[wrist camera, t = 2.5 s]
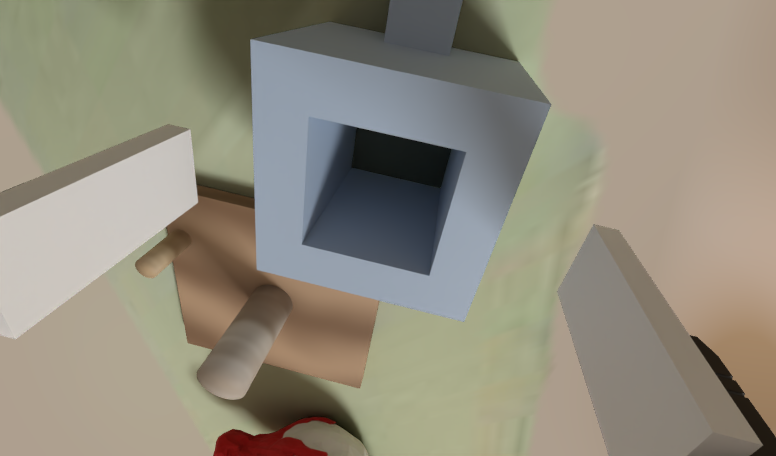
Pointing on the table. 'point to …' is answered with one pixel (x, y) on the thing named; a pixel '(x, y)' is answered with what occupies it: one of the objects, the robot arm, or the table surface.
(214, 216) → the post base
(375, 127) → the square nut with handle
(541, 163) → the table surface
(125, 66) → the table surface
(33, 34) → the table surface
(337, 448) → the candle
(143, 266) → the dowel
